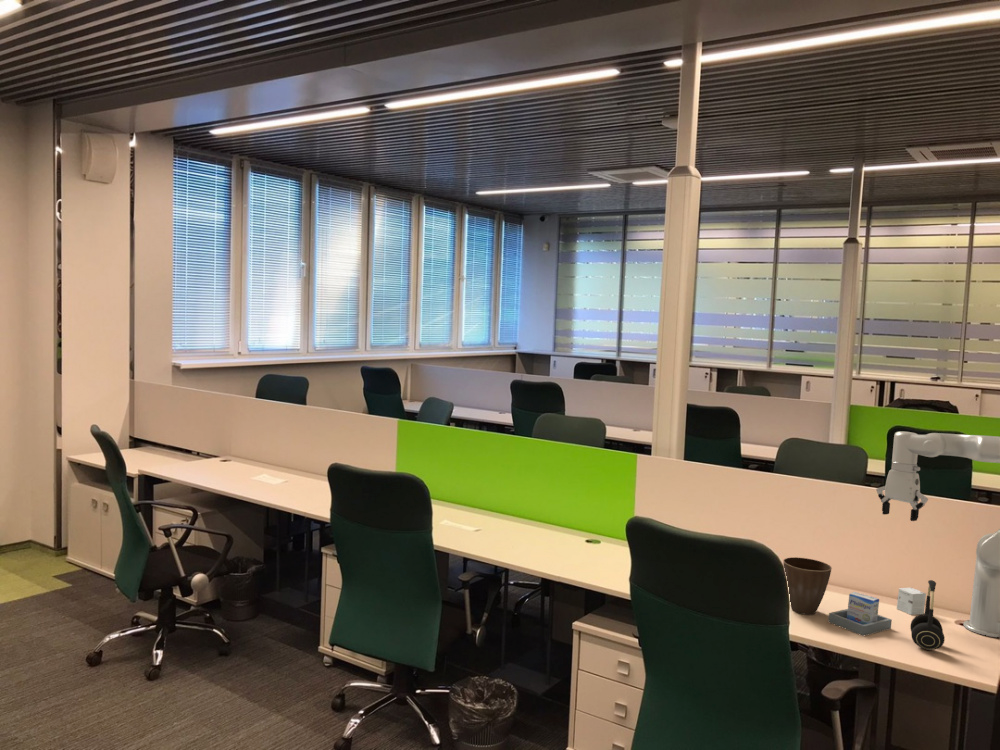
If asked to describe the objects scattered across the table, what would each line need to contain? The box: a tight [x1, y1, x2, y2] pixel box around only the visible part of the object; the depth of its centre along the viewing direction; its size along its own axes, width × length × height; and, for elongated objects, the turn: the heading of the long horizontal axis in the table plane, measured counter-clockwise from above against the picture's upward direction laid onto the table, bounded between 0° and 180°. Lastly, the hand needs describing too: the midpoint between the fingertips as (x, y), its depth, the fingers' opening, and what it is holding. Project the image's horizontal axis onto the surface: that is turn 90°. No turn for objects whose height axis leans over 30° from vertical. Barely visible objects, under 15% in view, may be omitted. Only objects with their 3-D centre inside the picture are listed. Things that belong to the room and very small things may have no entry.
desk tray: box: [827, 608, 893, 637], centre depth 243 cm, size 12×15×3 cm
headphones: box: [909, 579, 946, 651], centre depth 229 cm, size 9×15×20 cm, turn 154°
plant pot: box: [782, 556, 833, 616], centre depth 253 cm, size 15×15×16 cm
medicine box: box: [847, 591, 880, 625], centre depth 244 cm, size 8×4×9 cm, turn 42°
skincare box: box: [896, 587, 927, 616], centre depth 261 cm, size 6×6×7 cm
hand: (899, 517), depth 261 cm, fingers open, 9 cm apart
